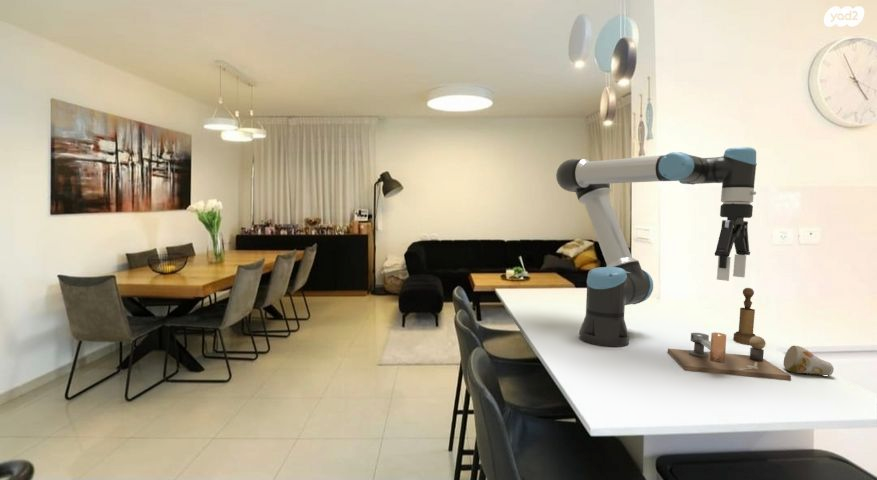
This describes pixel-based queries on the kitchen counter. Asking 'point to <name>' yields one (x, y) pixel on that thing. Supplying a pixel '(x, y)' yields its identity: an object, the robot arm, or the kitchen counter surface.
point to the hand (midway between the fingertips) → (731, 278)
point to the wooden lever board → (730, 362)
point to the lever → (712, 345)
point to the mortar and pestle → (746, 319)
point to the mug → (805, 362)
